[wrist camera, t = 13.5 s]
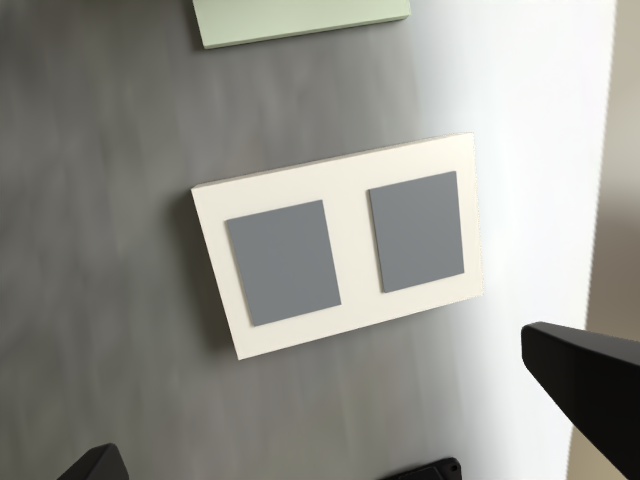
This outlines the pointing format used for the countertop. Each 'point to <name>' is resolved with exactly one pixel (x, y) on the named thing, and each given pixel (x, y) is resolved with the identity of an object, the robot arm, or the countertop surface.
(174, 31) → the countertop surface
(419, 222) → the label panel
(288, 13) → the mat
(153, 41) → the countertop surface
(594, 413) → the robot arm
